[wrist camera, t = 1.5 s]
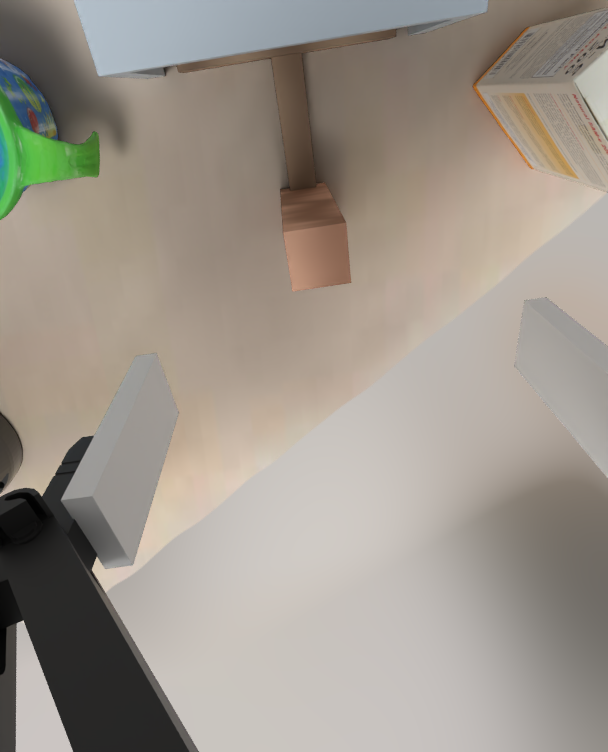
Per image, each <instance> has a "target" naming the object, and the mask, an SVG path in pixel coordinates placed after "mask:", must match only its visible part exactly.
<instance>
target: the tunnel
mask: <svg viewBox="0 0 608 752" xmlns="http://www.w3.org/2000/svg"><path fill="white" fill-rule="evenodd" d="M74 3H75V6H76V9H77V12H78V15H79V18H80V21H81V24H82V27H83V30H84V33H85V36H86V39H87V42H88V45H89V49H90V52H91V55H92V58H93V61H94V64H95V67H96V70H97V73H98V76H101V77H121V78H142V79H150V78H156V77H162V76H165V73H164V69H163V67H168V66H174V65H180V64H186V63H192V62H198V61H204V60H210V59H216V58H222V57H228V56H234V55H240V54H246V53H252V52H258V51H264V50H270V49H276V48H282V47H288V46H294V45H300V44H307V43H313V42H319V41H325V40H331V39H337V38H343V37H349V36H355V35H361V34H367V33H373V32H379V31H385V30H391V29H397V28H403V27H408V36H409V35H415V34H421V33H427V32H430V31H432V30H435V29H438V28H441V27H444V26H447V25H450V24H453V23H456V22H459V21H462V20H465V19H468V18H470V17H473V16H476V15H479V14H482V13H485V12H487V9H488V0H74Z"/></svg>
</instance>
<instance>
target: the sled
mask: <svg viewBox="0 0 608 752" xmlns="http://www.w3.org/2000/svg"><path fill="white" fill-rule="evenodd" d="M395 36H396V29H391V30H385V31H379V32H373V33H367V34H361V35H355V36H349V37H343V38H337V39H331V40H325V41H319V42H313V43H307V44H300V45H294V46H288V47H282V48H276V49H270V50H264V51H258V52H252V53H246V54H240V55H234V56H228V57H222V58H216V59H210V60H204V61H198V62H192V63H186V64H180V65H177V69H178V72H180V73H186V72H192V71H198V70H204V69H210V68H216V67H222V66H228V65H234V64H240V63H246V62H252V61H258V60H264V59H271V62H272V69H273V75H274V82H275V89H276V96H277V103H278V110H279V117H280V124H281V131H282V138H283V145H284V152H285V158H286V165H287V172H288V179H289V186H290V188H287V189H280V194H281V209H282V224H283V235H284V242H285V248H286V254H287V260H288V266H289V273H290V279H291V285H292V291H300V290H306V289H313V288H319V287H326V286H333V285H339V284H346V283H351V276H350V264H349V251H348V239H347V227H346V221H345V220H344V218H343V216H342V214H341V212H340V210H339V208H338V206H337V204H336V203H335V201H334V199H333V197H332V195H331V193H330V191H329V189H328V187H327V185H326V184H325V183H318V184H316V178H315V169H314V160H313V151H312V142H311V133H310V124H309V116H308V107H307V98H306V89H305V80H304V71H303V62H302V54H301V53H307V52H313V51H319V50H325V49H331V48H337V47H343V46H349V45H355V44H361V43H367V42H373V41H379V40H385V39H390V38H393V37H395Z"/></svg>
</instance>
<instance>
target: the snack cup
mask: <svg viewBox="0 0 608 752" xmlns="http://www.w3.org/2000/svg"><path fill="white" fill-rule="evenodd" d="M57 139H58V134H57V126H56V124H55V122H54V119H53V116H52V113H51V110H50V108H49V105H48V103H47V101H46V100H45V98H44V96H43V94H42V93H41V92H40V91H39V89H38V88H37V87H36V86H35V85H34V83H33V82H32V81H31V80H30V78H29V76H28V75H27V74H25V73H24V72H23V71H22V70H20V69H19V68H18V67H16V66H14V65H12V64H11V63H9V62H7V61H5V60H3V59H1V58H0V220H1V219H3V218H4V217H5V216H7V215H8V214H9V213H10V212H11V210H12V209H13V208H14V206H15V205H16V204H17V202H18V201H19V199H20V197H21V195H22V193H23V192H24V191H25V190H26V189H27V188H28V187H29V186H30V185H31V184H39V183H44V182H53V181H56V180H66V179H73V178H78V177H85V176H89V177H98V175H99V166H100V153H99V136H98V133H97V132H95V131H94V132H93V133H92V135H91V136H90V137H89V138H88V139H87V140H86V142H85V143H82V144H71V143H68V142H64V141H60V140H57Z"/></svg>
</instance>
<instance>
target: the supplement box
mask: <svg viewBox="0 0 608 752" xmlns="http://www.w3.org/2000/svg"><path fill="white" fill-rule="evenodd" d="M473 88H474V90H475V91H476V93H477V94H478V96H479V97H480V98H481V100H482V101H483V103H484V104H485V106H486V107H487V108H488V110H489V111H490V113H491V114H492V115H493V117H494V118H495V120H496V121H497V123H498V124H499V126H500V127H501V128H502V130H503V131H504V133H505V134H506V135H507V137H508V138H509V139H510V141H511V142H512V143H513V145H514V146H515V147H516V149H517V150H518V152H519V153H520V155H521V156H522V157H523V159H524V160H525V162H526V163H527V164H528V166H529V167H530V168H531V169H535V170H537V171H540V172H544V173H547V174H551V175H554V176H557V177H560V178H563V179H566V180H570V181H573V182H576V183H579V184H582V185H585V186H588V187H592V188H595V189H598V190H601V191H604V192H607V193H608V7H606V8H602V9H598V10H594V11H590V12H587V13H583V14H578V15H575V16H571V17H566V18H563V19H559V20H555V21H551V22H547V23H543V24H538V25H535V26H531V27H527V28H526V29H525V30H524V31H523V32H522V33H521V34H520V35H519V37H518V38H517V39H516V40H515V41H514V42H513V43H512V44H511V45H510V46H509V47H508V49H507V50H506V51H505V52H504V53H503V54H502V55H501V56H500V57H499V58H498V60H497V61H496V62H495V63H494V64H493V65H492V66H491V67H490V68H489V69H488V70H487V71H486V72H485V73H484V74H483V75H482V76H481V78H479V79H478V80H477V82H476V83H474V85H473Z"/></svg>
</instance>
